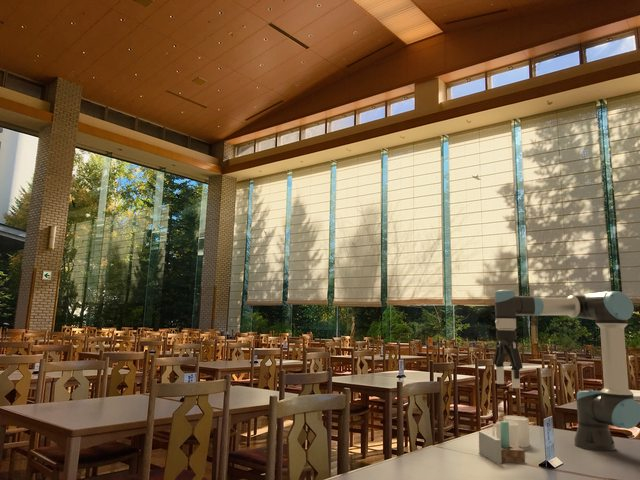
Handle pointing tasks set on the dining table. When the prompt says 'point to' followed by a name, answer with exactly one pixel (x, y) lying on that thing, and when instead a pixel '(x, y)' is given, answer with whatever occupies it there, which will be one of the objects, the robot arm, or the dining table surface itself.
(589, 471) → the dining table surface
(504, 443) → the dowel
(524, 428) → the mug
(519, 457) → the block
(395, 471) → the dining table surface
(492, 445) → the wall
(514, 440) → the cup
